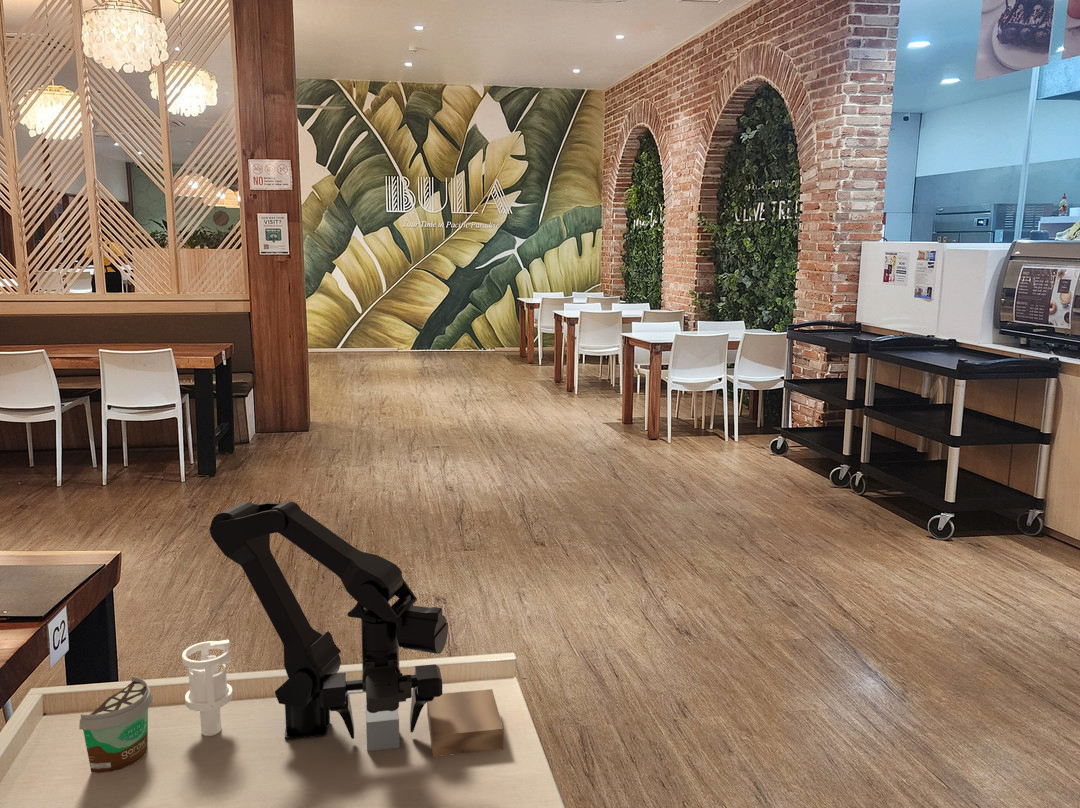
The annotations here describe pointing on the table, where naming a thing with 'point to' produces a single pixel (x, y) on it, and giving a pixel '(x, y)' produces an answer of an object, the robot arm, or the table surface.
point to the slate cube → (382, 730)
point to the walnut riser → (464, 723)
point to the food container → (118, 728)
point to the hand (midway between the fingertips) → (382, 734)
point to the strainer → (208, 684)
